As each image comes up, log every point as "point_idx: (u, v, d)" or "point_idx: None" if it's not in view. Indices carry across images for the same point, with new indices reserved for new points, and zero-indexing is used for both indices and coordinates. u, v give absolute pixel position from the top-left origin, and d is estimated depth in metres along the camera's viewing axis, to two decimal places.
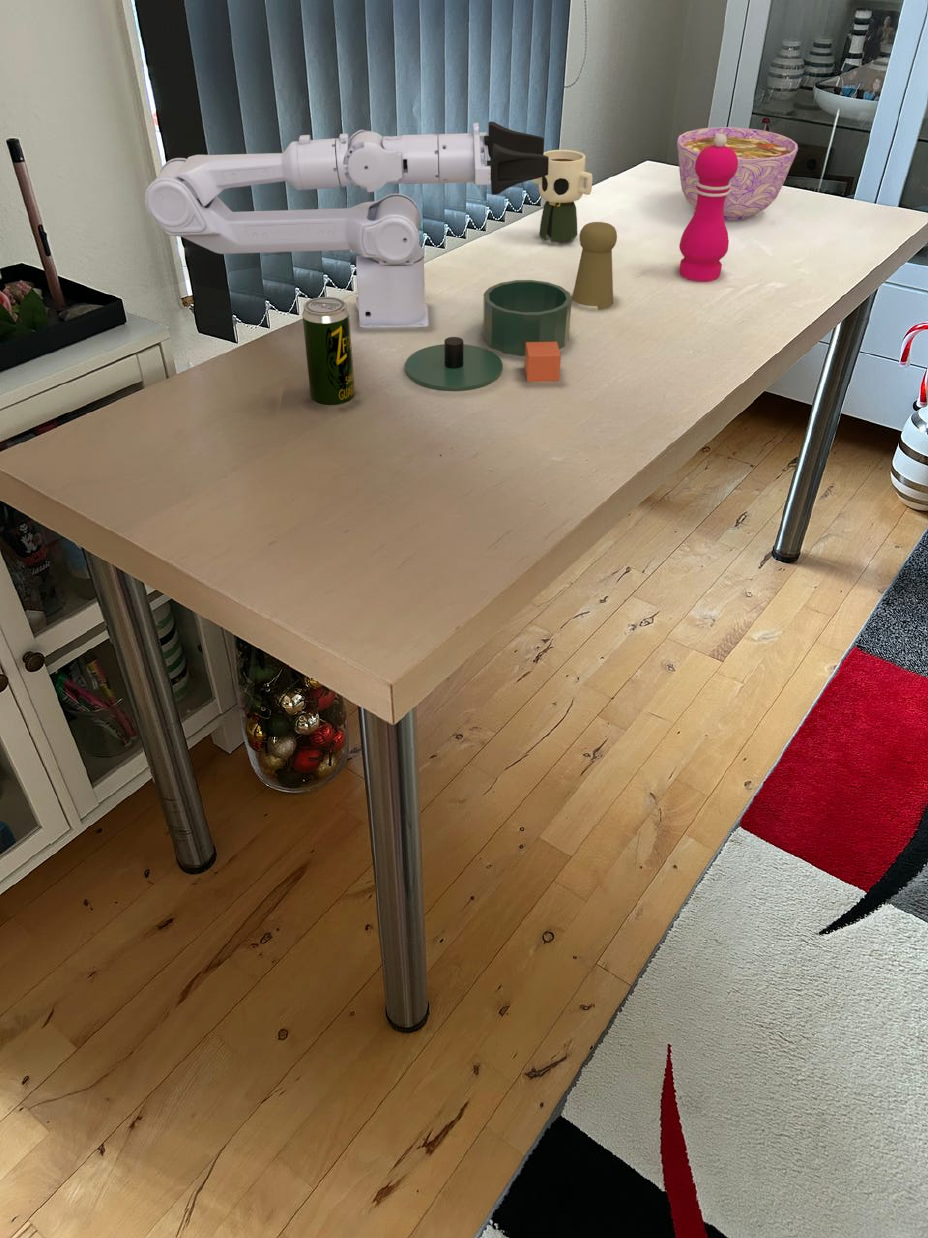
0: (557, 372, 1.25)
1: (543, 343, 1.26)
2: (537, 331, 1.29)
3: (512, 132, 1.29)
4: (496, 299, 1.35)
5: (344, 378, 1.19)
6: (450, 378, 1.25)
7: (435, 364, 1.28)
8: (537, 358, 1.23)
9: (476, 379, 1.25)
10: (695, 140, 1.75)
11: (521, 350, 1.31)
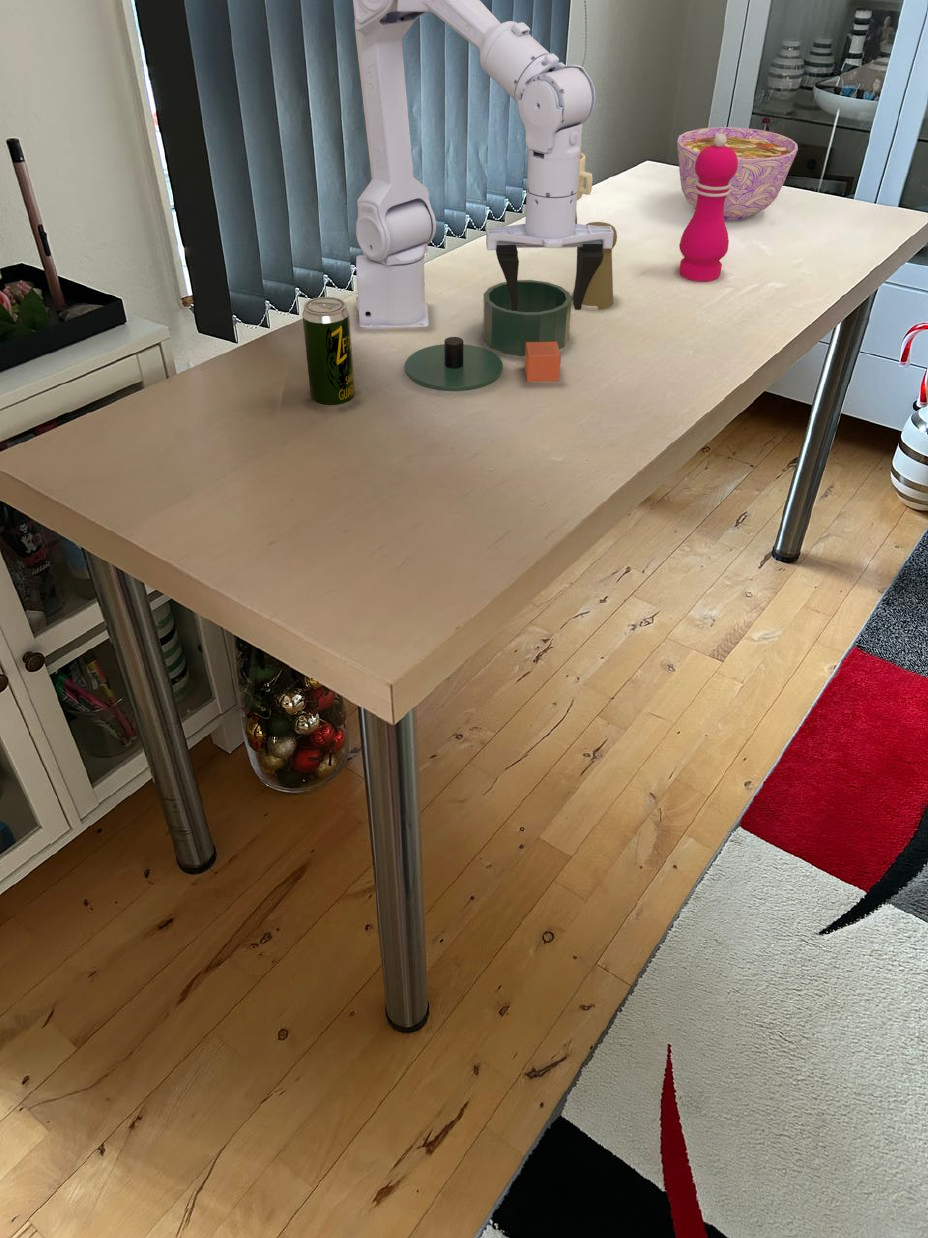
0: (557, 372, 1.25)
1: (543, 343, 1.26)
2: (537, 331, 1.29)
3: (582, 278, 1.18)
4: (496, 299, 1.35)
5: (344, 378, 1.19)
6: (450, 378, 1.25)
7: (435, 364, 1.28)
8: (537, 358, 1.23)
9: (476, 379, 1.25)
10: (695, 140, 1.75)
11: (521, 350, 1.31)
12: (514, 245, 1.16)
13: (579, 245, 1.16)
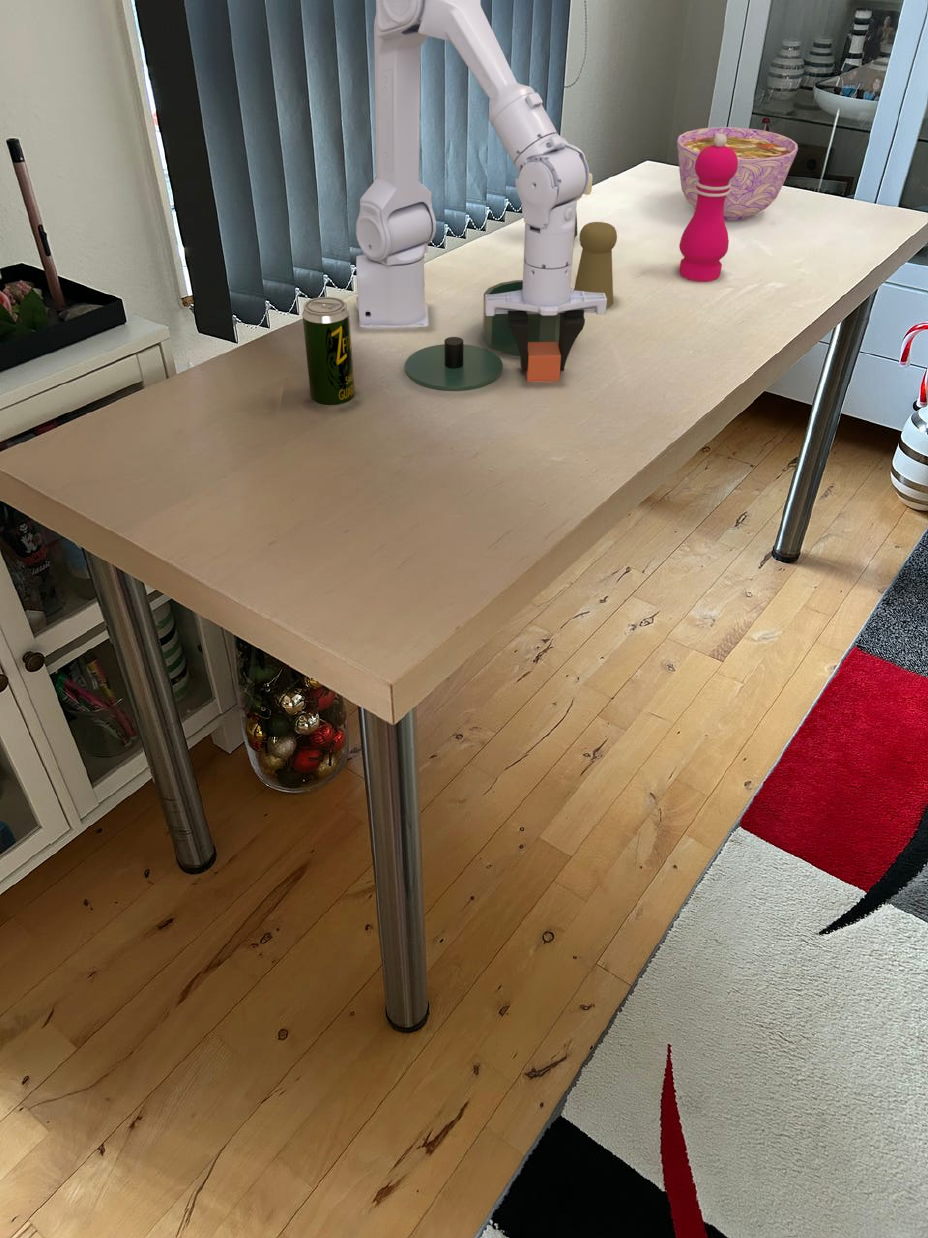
0: (557, 372, 1.25)
1: (543, 343, 1.26)
2: (537, 331, 1.29)
3: (564, 342, 1.23)
4: None
5: (344, 378, 1.19)
6: (450, 378, 1.25)
7: (435, 364, 1.28)
8: (537, 358, 1.23)
9: (476, 379, 1.25)
10: (695, 140, 1.75)
11: None
12: (525, 311, 1.21)
13: (561, 311, 1.21)
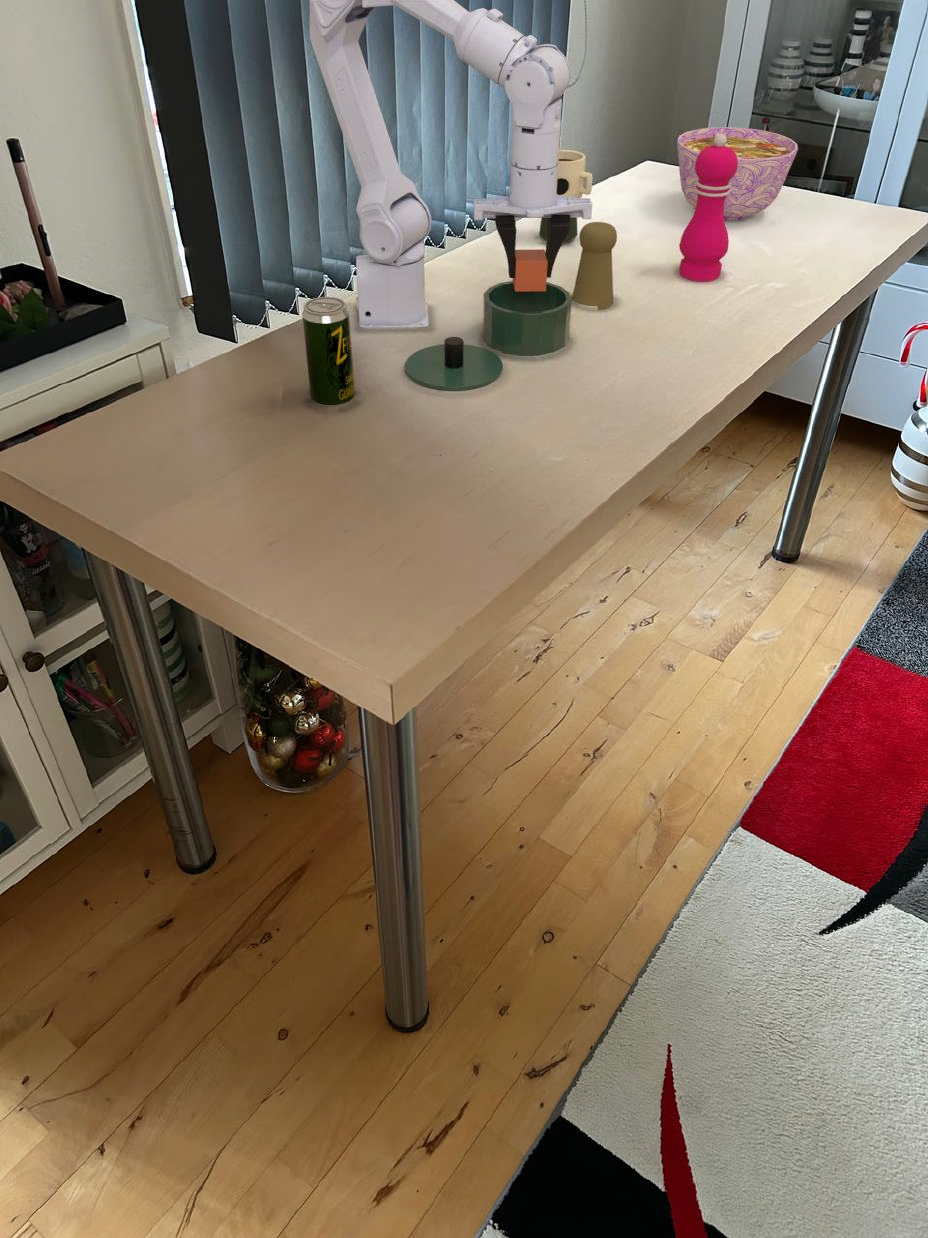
0: (544, 278, 1.28)
1: (531, 250, 1.29)
2: (537, 331, 1.29)
3: (551, 247, 1.25)
4: (496, 299, 1.35)
5: (344, 378, 1.19)
6: (450, 378, 1.25)
7: (435, 364, 1.28)
8: (524, 263, 1.26)
9: (476, 379, 1.25)
10: (695, 140, 1.75)
11: (521, 350, 1.31)
12: (512, 215, 1.24)
13: (548, 216, 1.24)
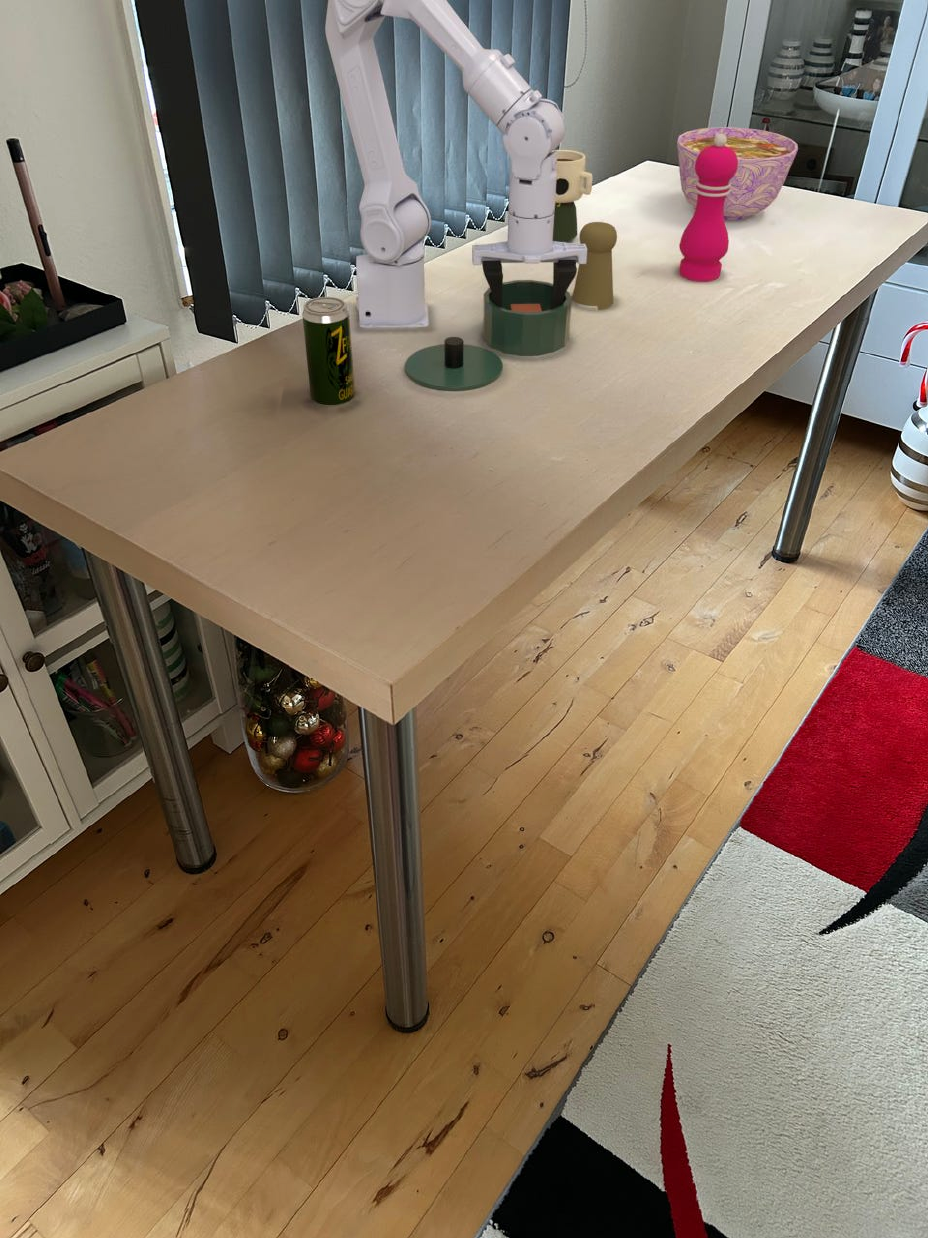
0: None
1: (527, 305, 1.34)
2: (537, 331, 1.29)
3: (557, 290, 1.30)
4: None
5: (344, 378, 1.19)
6: (450, 378, 1.25)
7: (435, 364, 1.28)
8: None
9: (476, 379, 1.25)
10: (695, 140, 1.75)
11: (521, 350, 1.31)
12: (499, 260, 1.28)
13: (555, 261, 1.29)
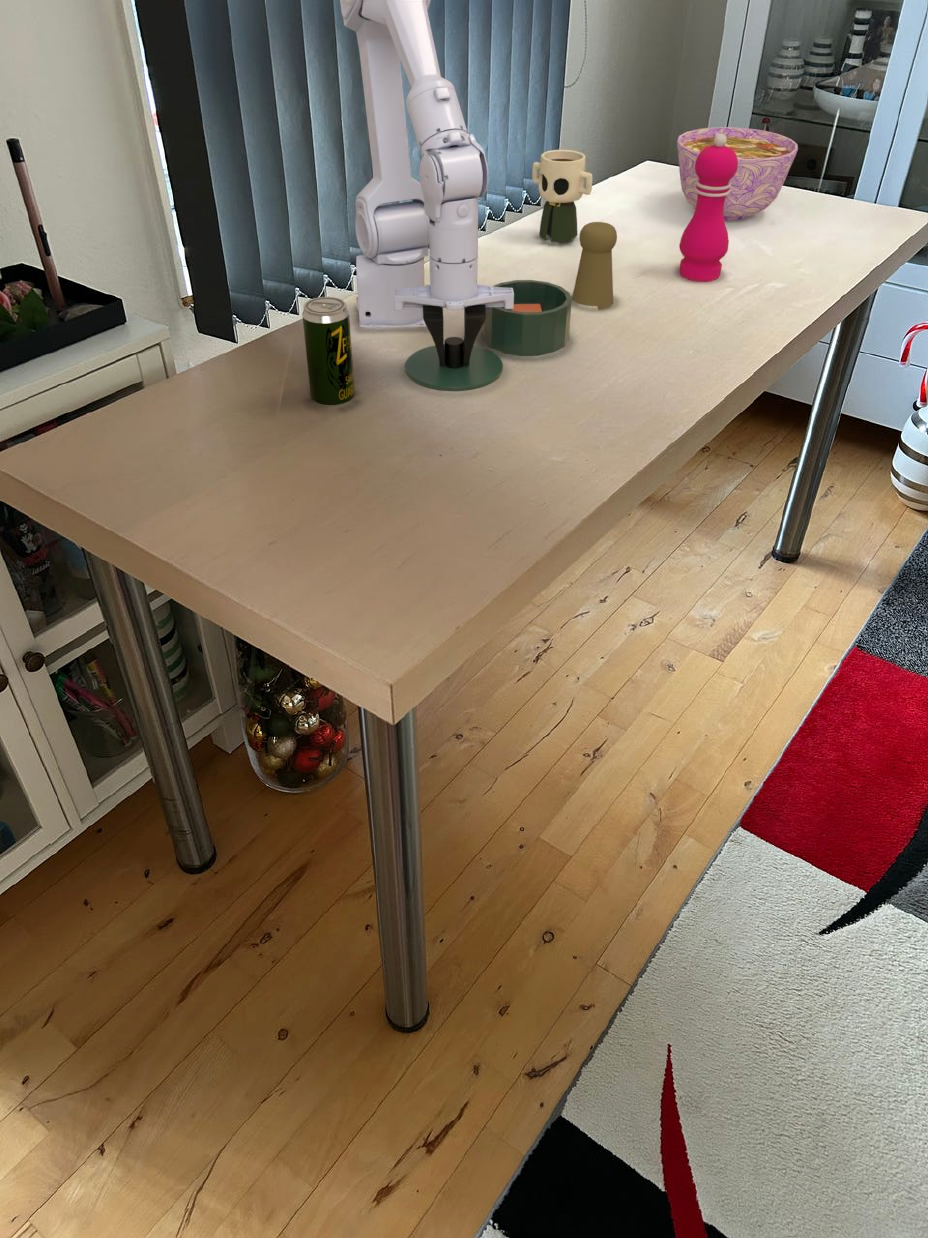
0: None
1: (527, 305, 1.34)
2: (537, 331, 1.29)
3: (467, 336, 1.24)
4: None
5: (344, 378, 1.19)
6: (450, 378, 1.25)
7: (435, 364, 1.28)
8: None
9: (476, 379, 1.25)
10: (695, 140, 1.75)
11: (521, 350, 1.31)
12: (439, 305, 1.22)
13: (463, 306, 1.23)
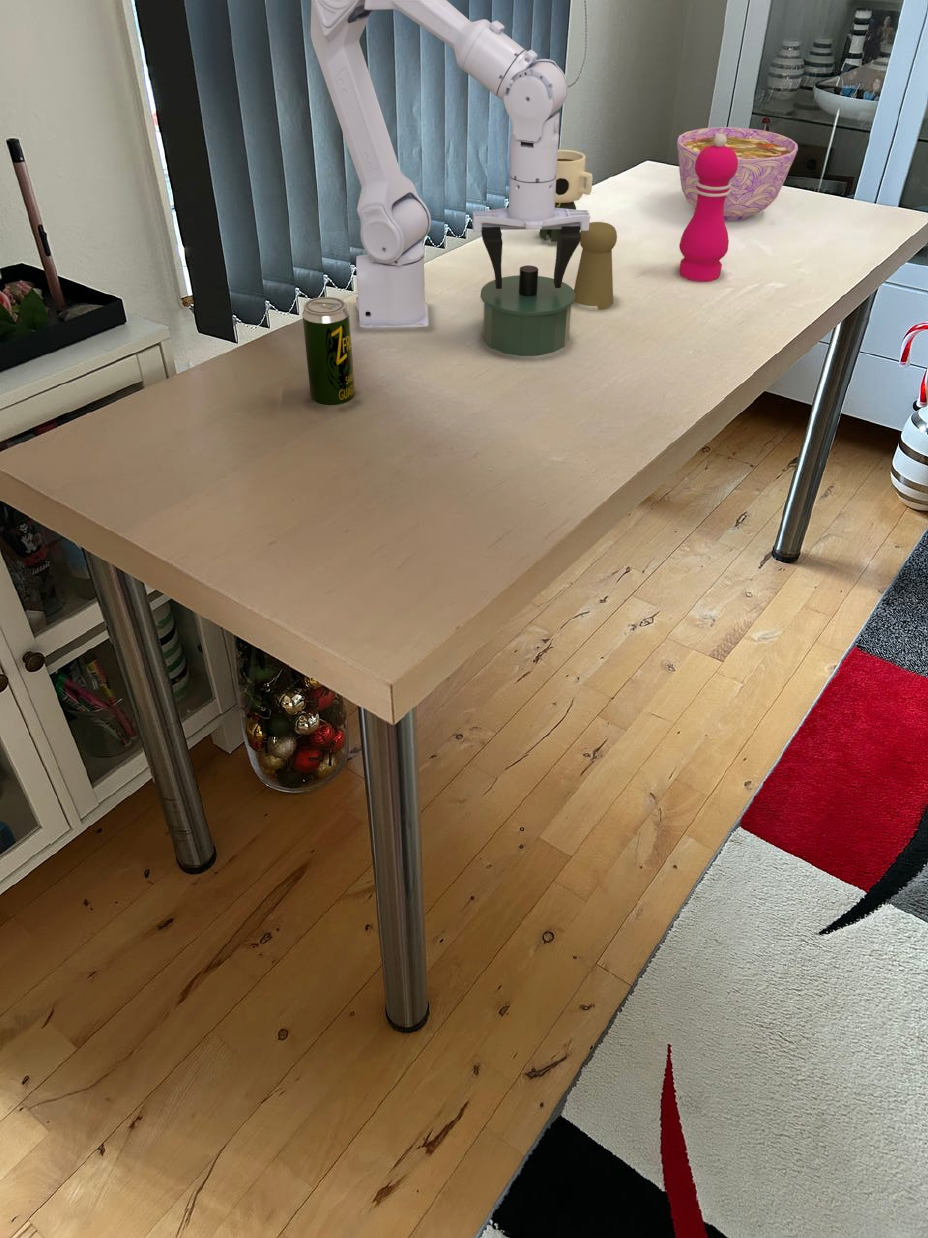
0: None
1: None
2: (537, 331, 1.29)
3: (561, 258, 1.27)
4: None
5: (344, 378, 1.19)
6: (526, 304, 1.28)
7: (509, 292, 1.31)
8: None
9: (551, 305, 1.28)
10: (695, 140, 1.75)
11: (521, 350, 1.31)
12: (498, 227, 1.25)
13: (558, 227, 1.26)
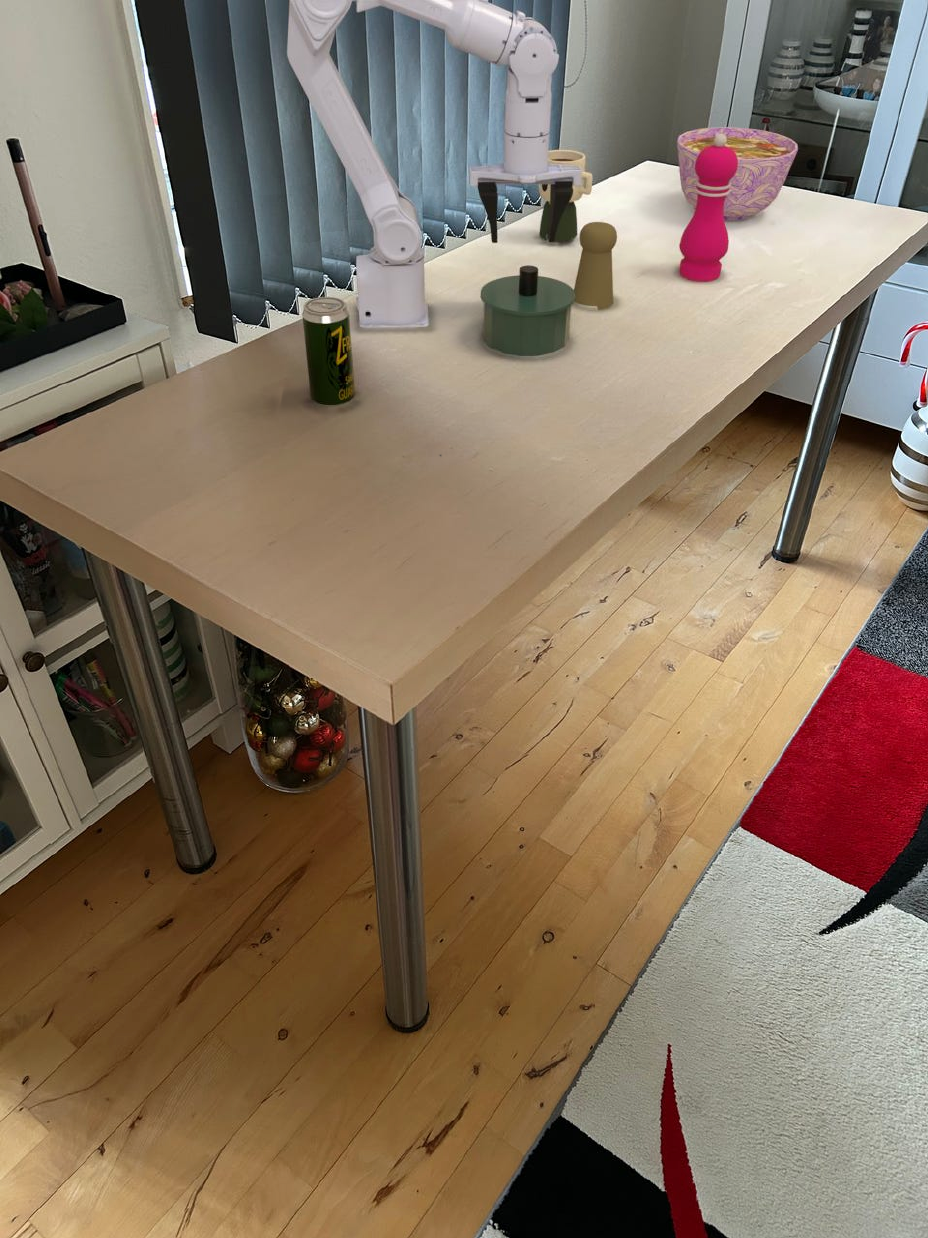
0: None
1: None
2: (537, 331, 1.29)
3: (554, 212, 1.32)
4: None
5: (344, 378, 1.19)
6: (526, 304, 1.28)
7: (509, 292, 1.31)
8: None
9: (551, 305, 1.28)
10: (695, 140, 1.75)
11: (521, 350, 1.31)
12: (494, 182, 1.30)
13: (552, 182, 1.31)
